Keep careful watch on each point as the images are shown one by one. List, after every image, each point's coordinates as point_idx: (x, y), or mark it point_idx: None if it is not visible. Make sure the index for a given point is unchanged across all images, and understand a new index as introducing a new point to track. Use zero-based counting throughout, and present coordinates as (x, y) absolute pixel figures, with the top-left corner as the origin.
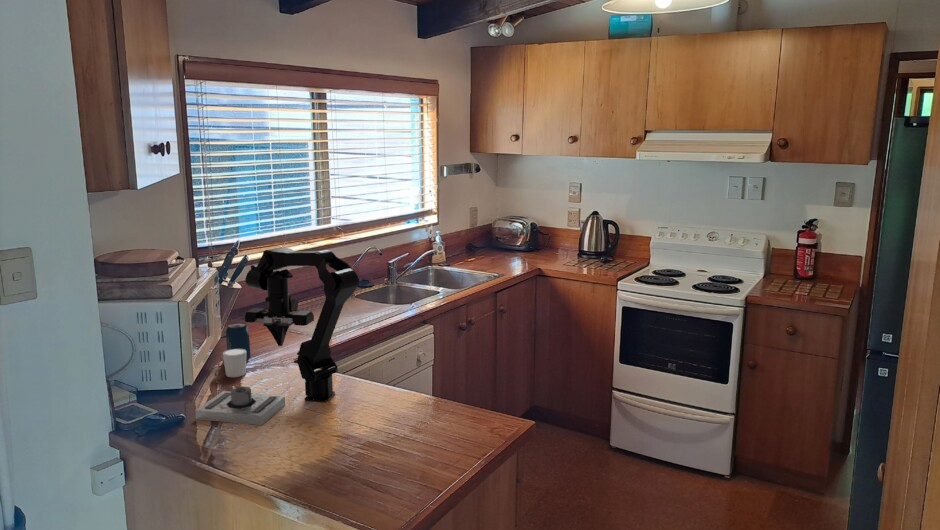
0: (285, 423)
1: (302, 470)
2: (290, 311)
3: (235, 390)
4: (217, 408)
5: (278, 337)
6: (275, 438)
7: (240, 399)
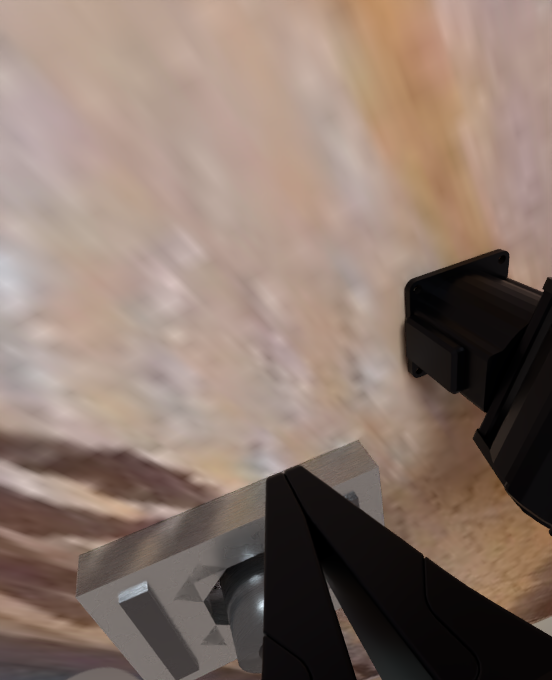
0: (428, 511)
1: (538, 581)
2: None
3: (260, 659)
4: (219, 651)
5: (367, 646)
6: (442, 562)
7: None
